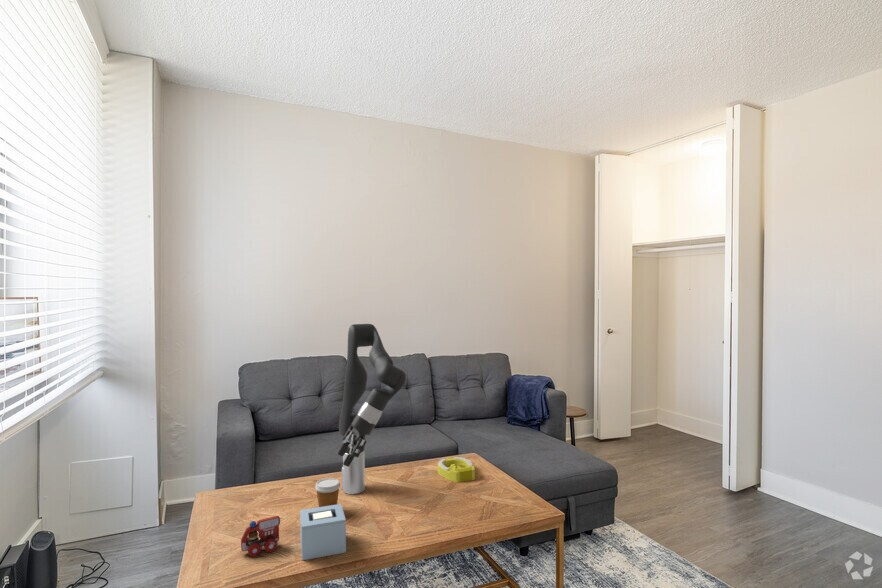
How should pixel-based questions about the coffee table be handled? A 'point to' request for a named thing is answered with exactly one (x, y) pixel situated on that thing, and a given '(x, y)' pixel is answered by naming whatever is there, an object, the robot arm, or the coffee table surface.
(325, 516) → the block
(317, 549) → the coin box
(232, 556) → the coffee table surface
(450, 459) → the yellow low hollow piece
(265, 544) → the toy fire truck
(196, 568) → the coffee table surface
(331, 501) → the disposable coffee cup
